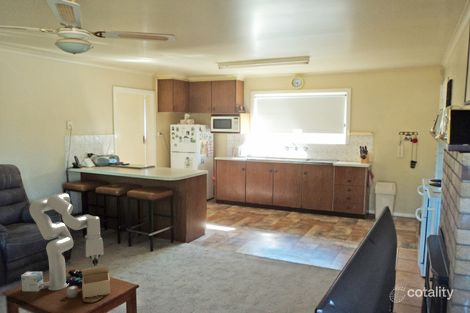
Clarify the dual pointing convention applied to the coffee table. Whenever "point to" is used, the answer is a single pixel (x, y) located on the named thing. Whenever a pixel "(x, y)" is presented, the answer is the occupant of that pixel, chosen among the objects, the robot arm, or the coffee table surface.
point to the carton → (96, 284)
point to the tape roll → (72, 291)
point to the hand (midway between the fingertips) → (95, 264)
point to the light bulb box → (32, 281)
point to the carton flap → (95, 270)
